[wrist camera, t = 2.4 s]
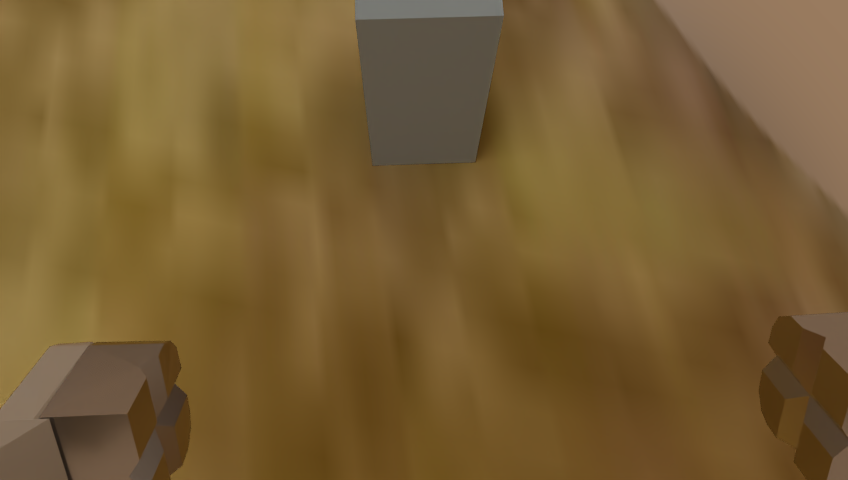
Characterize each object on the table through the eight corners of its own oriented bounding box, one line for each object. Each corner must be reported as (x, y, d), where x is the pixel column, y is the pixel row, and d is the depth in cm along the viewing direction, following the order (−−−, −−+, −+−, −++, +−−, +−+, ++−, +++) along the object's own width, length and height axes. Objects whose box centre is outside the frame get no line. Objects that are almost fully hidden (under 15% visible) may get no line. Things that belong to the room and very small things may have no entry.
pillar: (372, 165, 27) (355, 19, 19) (370, 76, 29) (353, -97, 20) (475, 162, 28) (503, 15, 19) (468, 73, 29) (492, -100, 20)
